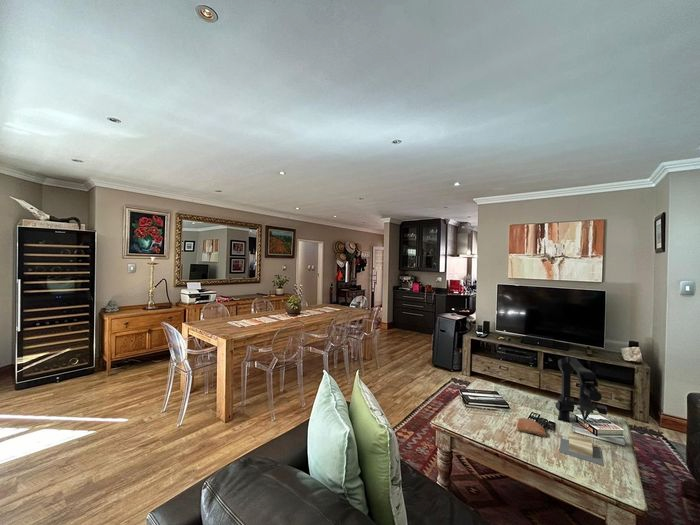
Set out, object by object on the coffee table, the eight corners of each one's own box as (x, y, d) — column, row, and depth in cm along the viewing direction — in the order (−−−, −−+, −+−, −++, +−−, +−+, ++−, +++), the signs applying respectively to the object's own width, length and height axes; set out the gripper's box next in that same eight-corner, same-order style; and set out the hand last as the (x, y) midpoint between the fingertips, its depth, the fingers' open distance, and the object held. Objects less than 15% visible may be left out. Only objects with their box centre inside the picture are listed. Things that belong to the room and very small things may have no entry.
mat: (560, 438, 177) (560, 437, 177) (600, 450, 167) (600, 449, 167) (559, 452, 164) (559, 451, 164) (603, 465, 154) (603, 465, 154)
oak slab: (569, 432, 176) (569, 443, 165) (591, 438, 170) (592, 450, 159) (569, 439, 176) (568, 450, 165) (591, 445, 170) (592, 457, 159)
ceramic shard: (544, 418, 190) (546, 433, 177) (542, 427, 191) (544, 443, 178) (517, 410, 196) (517, 424, 183) (515, 418, 198) (515, 433, 184)
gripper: (564, 393, 173) (564, 420, 173) (608, 403, 161) (606, 432, 162) (565, 386, 182) (564, 412, 182) (606, 396, 170) (605, 423, 171)
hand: (584, 420), depth 174 cm, fingers closed
